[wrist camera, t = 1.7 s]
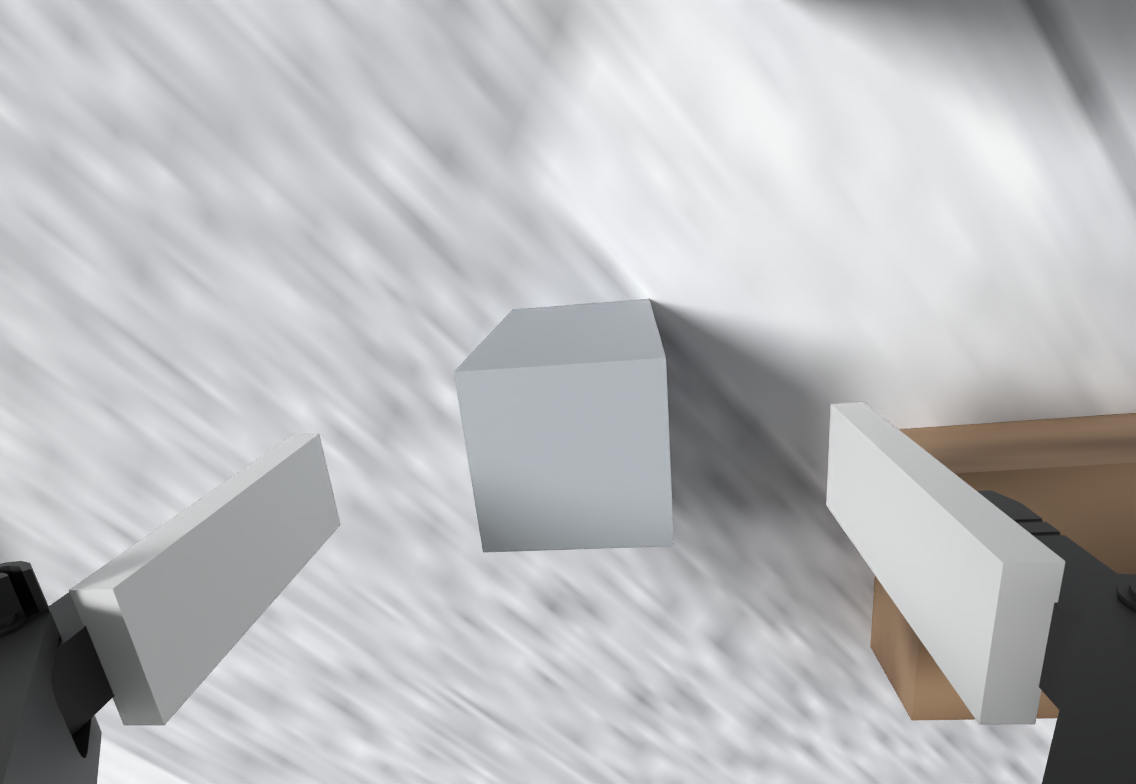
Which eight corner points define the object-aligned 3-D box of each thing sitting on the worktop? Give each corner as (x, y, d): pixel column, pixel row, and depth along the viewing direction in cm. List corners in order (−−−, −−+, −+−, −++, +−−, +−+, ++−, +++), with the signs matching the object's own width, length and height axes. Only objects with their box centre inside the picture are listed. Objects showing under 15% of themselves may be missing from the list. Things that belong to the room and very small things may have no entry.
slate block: (512, 309, 21) (453, 372, 14) (649, 298, 21) (665, 357, 13) (528, 434, 23) (483, 552, 15) (655, 427, 22) (674, 546, 15)
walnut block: (879, 426, 22) (933, 474, 18) (1172, 406, 21) (1295, 452, 17) (867, 641, 25) (911, 720, 21) (1122, 633, 24) (1216, 715, 20)
